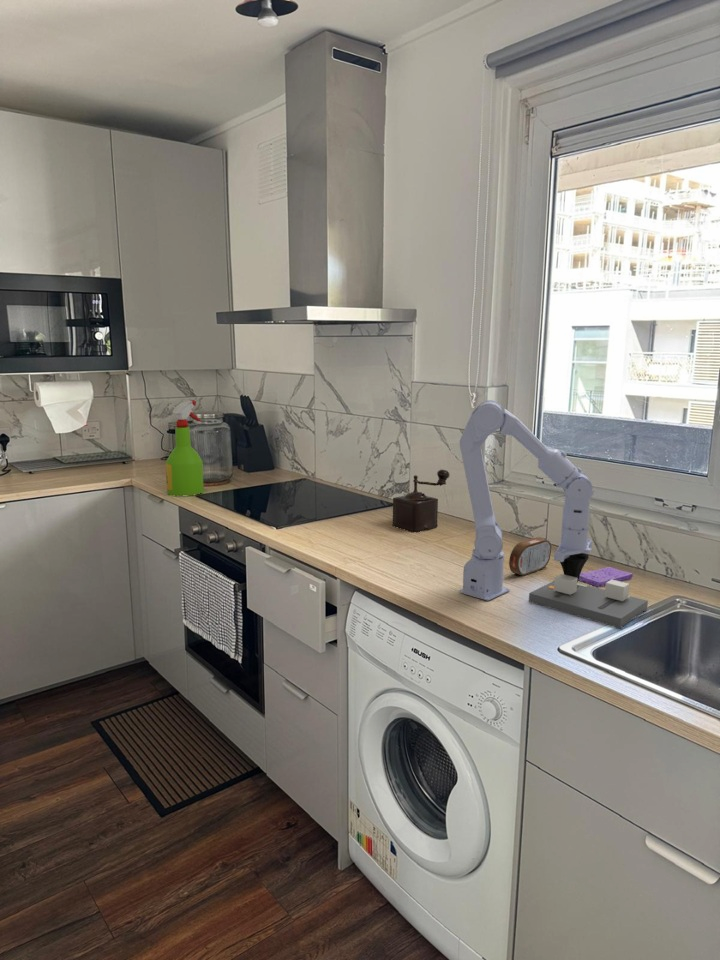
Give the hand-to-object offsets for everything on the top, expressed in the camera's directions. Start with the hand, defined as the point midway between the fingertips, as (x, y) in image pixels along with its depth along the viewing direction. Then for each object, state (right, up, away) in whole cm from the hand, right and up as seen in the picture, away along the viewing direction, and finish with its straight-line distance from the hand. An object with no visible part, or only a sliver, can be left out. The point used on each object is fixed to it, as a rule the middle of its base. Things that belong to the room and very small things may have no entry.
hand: (571, 584), depth 158 cm
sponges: (+12, -1, +13) cm, 18 cm away
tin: (-5, 0, +18) cm, 19 cm away
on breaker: (+8, -2, -6) cm, 10 cm away
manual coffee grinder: (-29, +9, +62) cm, 69 cm away
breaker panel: (+2, -4, -4) cm, 6 cm away
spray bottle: (-114, +19, +110) cm, 160 cm away
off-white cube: (-2, -1, -2) cm, 3 cm away
